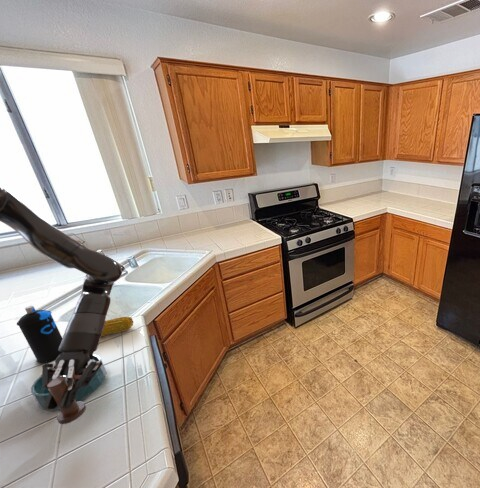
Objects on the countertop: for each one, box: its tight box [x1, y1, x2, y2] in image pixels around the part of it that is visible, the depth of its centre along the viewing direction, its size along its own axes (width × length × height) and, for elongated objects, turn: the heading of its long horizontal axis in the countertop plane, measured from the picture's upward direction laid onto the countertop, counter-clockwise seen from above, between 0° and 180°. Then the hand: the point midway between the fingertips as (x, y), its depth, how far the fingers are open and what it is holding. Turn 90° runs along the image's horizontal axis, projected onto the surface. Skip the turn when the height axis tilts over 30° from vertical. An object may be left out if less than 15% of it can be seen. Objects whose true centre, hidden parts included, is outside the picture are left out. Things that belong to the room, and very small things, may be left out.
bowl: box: [30, 353, 108, 411], centre depth 78 cm, size 15×15×6 cm
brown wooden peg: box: [47, 377, 87, 425], centre depth 64 cm, size 5×5×11 cm
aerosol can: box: [16, 305, 63, 364], centre depth 90 cm, size 8×8×20 cm
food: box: [101, 316, 134, 337], centre depth 102 cm, size 21×6×6 cm, turn 109°
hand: (57, 408), depth 62 cm, fingers closed on brown wooden peg, 3 cm apart
